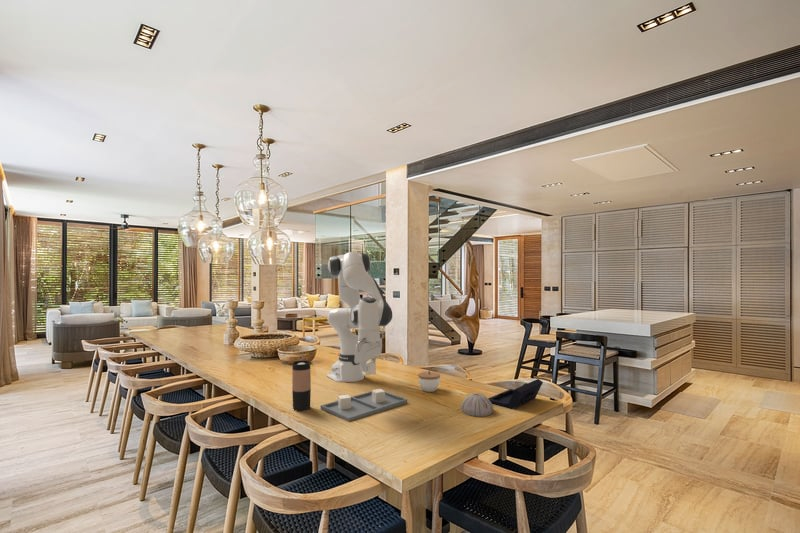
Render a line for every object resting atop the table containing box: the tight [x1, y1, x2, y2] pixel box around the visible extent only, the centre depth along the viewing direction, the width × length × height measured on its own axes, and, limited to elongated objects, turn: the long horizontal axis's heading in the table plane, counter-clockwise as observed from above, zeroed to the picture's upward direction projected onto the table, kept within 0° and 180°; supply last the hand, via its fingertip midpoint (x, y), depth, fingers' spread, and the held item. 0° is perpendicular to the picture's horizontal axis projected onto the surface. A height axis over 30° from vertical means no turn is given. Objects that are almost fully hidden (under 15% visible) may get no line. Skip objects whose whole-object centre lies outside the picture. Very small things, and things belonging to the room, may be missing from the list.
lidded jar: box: [417, 370, 441, 393], centre depth 197 cm, size 11×11×9 cm
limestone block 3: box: [371, 388, 386, 403], centre depth 178 cm, size 4×4×4 cm
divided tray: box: [320, 390, 408, 423], centre depth 173 cm, size 20×32×2 cm, turn 133°
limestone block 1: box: [337, 394, 352, 410], centre depth 170 cm, size 4×4×4 cm
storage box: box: [487, 378, 544, 410], centre depth 178 cm, size 21×16×10 cm
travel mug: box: [291, 360, 312, 412], centre depth 171 cm, size 8×8×20 cm
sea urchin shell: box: [460, 393, 494, 417], centre depth 165 cm, size 13×14×8 cm
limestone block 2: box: [362, 360, 377, 376], centre depth 168 cm, size 4×4×4 cm
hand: (368, 369), depth 168 cm, fingers closed on limestone block 2, 6 cm apart
